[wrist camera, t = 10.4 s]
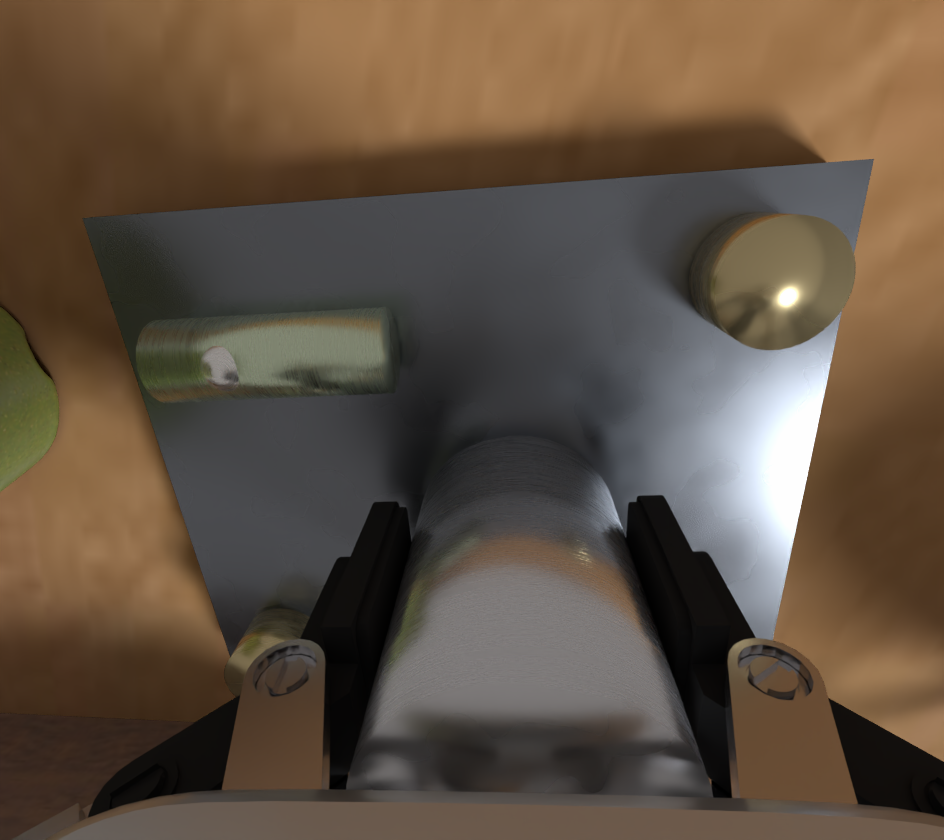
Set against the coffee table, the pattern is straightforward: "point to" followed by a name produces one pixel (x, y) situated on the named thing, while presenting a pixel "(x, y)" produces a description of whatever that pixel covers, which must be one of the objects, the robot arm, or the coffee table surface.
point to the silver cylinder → (524, 643)
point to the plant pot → (23, 404)
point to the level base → (484, 361)
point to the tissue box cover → (65, 762)
